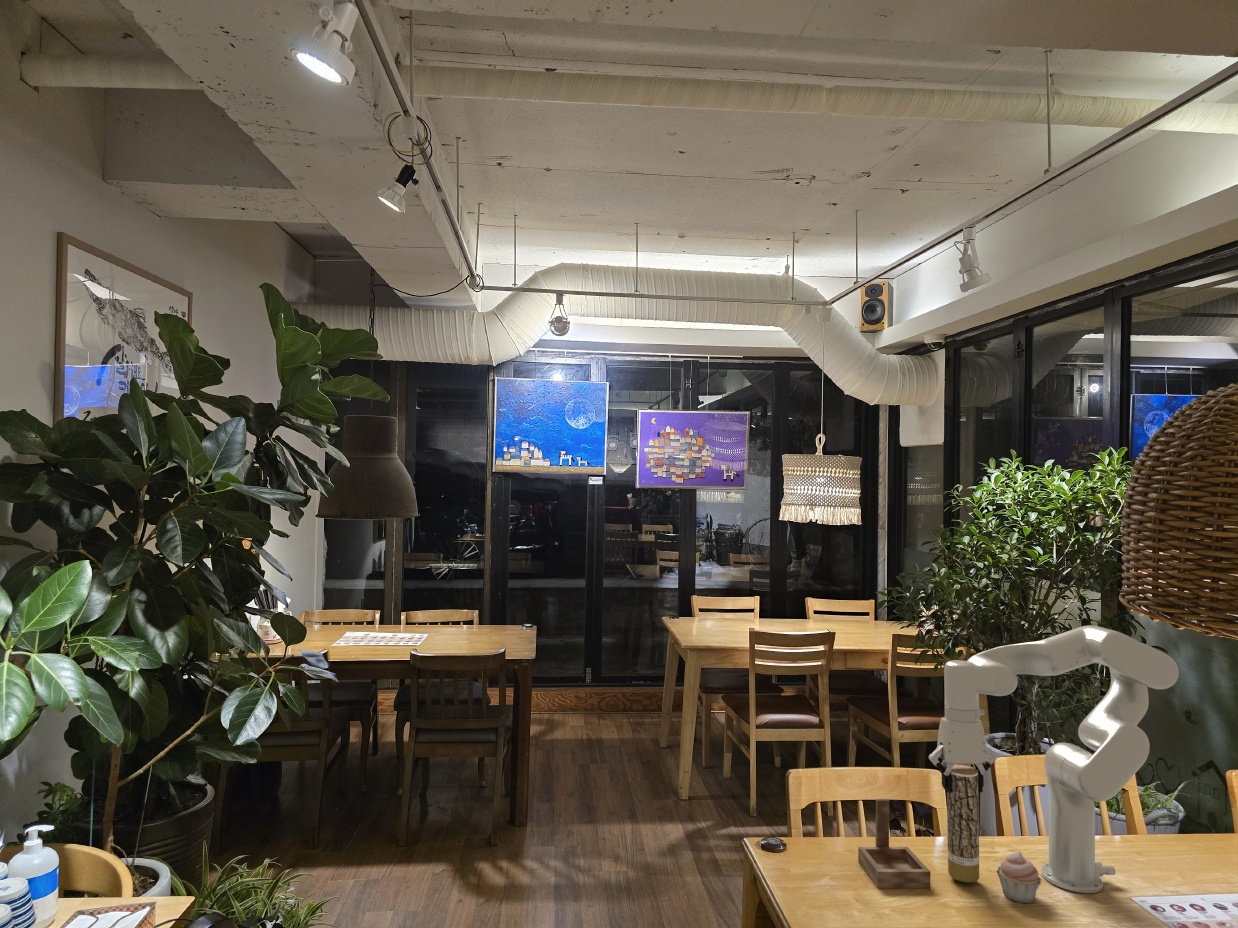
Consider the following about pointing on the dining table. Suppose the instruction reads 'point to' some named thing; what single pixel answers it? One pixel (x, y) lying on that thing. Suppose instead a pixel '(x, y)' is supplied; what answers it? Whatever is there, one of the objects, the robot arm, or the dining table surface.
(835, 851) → the dining table surface
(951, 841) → the paper tube
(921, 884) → the holder
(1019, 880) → the cupcake
